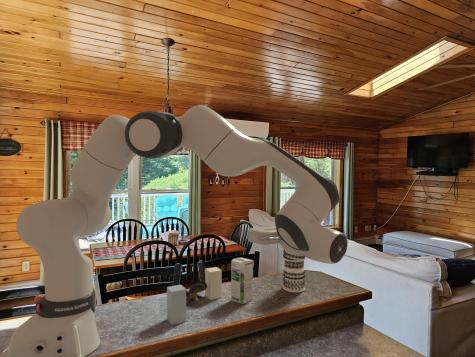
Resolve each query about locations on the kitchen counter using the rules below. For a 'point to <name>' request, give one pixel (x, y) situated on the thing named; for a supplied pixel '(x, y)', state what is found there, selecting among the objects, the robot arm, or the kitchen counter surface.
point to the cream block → (213, 283)
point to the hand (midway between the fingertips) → (266, 228)
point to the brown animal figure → (195, 291)
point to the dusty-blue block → (176, 304)
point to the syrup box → (241, 280)
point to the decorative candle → (293, 272)
